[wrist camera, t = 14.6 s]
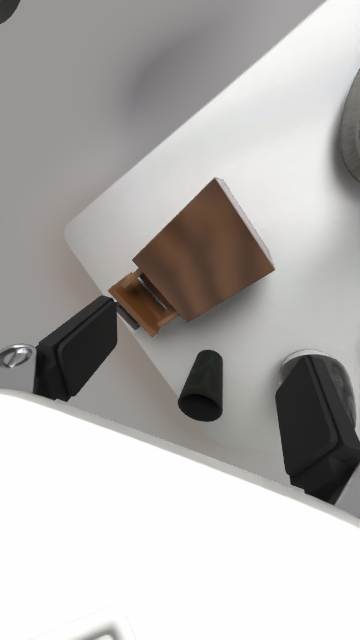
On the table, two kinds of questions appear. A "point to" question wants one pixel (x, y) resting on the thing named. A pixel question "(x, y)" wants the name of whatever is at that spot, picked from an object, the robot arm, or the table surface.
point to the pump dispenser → (336, 373)
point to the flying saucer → (351, 130)
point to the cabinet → (205, 253)
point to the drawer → (141, 303)
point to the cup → (203, 388)
